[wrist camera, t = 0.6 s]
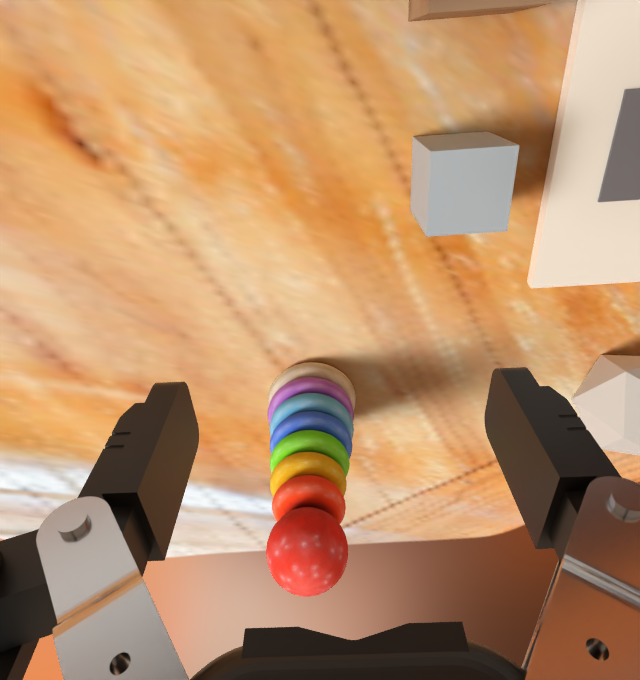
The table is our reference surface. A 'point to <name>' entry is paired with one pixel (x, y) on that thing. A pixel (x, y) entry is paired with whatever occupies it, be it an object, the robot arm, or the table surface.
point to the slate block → (462, 182)
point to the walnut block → (466, 8)
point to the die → (612, 403)
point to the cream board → (594, 156)
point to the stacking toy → (309, 476)
